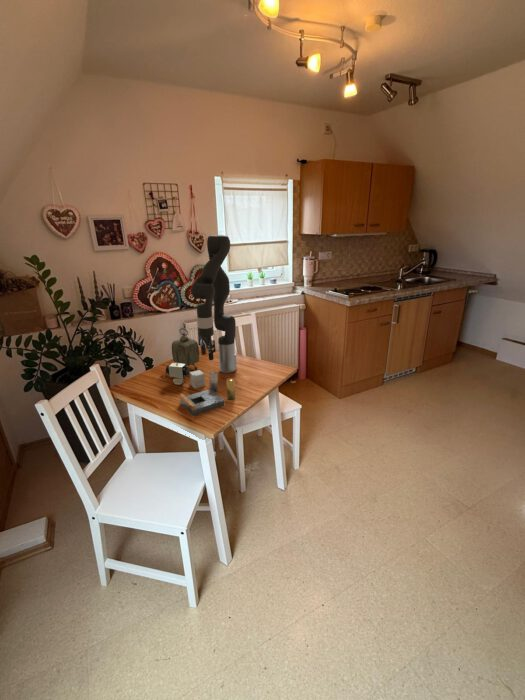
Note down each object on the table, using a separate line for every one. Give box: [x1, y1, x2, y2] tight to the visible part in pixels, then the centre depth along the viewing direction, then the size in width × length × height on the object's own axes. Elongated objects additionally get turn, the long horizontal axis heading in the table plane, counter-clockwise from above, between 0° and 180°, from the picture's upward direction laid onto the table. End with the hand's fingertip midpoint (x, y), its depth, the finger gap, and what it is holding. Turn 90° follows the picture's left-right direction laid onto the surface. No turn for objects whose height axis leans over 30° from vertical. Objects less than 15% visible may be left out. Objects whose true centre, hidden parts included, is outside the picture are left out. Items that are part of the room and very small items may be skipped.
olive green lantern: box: [171, 327, 200, 370], centre depth 188 cm, size 14×9×25 cm, turn 54°
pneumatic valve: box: [165, 362, 191, 386], centre depth 172 cm, size 6×12×12 cm, turn 78°
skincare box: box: [189, 369, 206, 389], centre depth 170 cm, size 6×6×7 cm
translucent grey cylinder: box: [208, 371, 219, 394], centre depth 164 cm, size 4×4×10 cm
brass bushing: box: [225, 378, 236, 402], centre depth 156 cm, size 4×4×10 cm
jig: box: [179, 388, 225, 417], centre depth 152 cm, size 16×14×5 cm
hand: (207, 357), depth 159 cm, fingers open, 8 cm apart
